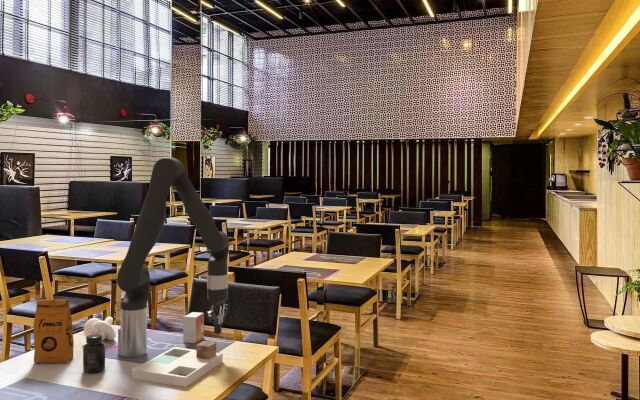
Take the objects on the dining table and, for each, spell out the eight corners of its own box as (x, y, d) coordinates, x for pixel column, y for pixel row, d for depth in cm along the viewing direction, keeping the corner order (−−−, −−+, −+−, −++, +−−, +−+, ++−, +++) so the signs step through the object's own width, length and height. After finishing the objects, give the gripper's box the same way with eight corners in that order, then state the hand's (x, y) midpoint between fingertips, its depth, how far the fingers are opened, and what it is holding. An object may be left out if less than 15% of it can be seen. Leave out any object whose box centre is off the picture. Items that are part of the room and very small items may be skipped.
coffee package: (66, 365, 175) (66, 302, 174) (29, 365, 174) (29, 302, 173) (78, 355, 184) (78, 296, 184) (43, 355, 184) (43, 296, 183)
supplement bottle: (109, 369, 172) (109, 334, 172) (94, 376, 166) (94, 340, 165) (93, 366, 175) (93, 331, 174) (78, 373, 168) (78, 337, 168)
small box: (195, 343, 201) (195, 317, 200) (182, 342, 202) (182, 316, 202) (204, 337, 209) (204, 312, 208) (191, 336, 210) (191, 311, 209)
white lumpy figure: (124, 339, 205) (124, 317, 205) (100, 347, 194) (100, 324, 194) (104, 335, 210) (104, 313, 209) (79, 343, 199) (79, 320, 199)
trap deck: (131, 378, 164) (132, 369, 164) (174, 355, 187) (174, 347, 187) (185, 387, 158) (185, 377, 158) (222, 361, 181) (222, 353, 181)
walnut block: (196, 357, 176) (196, 344, 176) (203, 353, 181) (203, 340, 181) (209, 359, 175) (209, 346, 175) (216, 354, 180) (216, 342, 180)
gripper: (217, 282, 192) (217, 327, 192) (199, 289, 179) (199, 337, 180) (235, 283, 190) (235, 329, 190) (217, 290, 177) (217, 339, 177)
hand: (217, 333), depth 185 cm, fingers closed
